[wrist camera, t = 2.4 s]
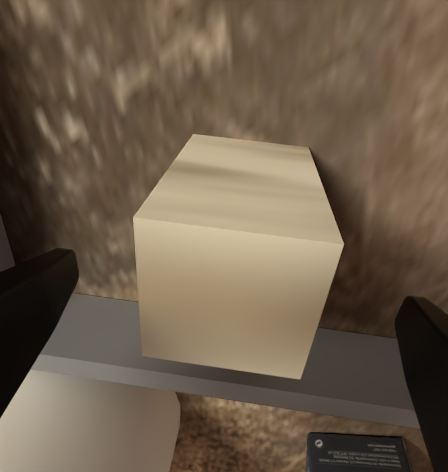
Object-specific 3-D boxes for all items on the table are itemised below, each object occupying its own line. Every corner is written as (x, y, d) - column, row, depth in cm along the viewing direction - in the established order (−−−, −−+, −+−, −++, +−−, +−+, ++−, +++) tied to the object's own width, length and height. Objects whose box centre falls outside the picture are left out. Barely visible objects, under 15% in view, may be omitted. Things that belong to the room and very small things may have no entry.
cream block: (287, 244, 15) (300, 379, 9) (189, 232, 16) (142, 355, 10) (308, 147, 13) (344, 244, 7) (193, 134, 13) (133, 217, 7)
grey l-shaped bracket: (461, 364, 18) (507, 442, 14) (5, 299, 19) (-51, 356, 16) (729, -21, 9) (995, -51, 6) (-126, -95, 11) (-314, -156, 7)
